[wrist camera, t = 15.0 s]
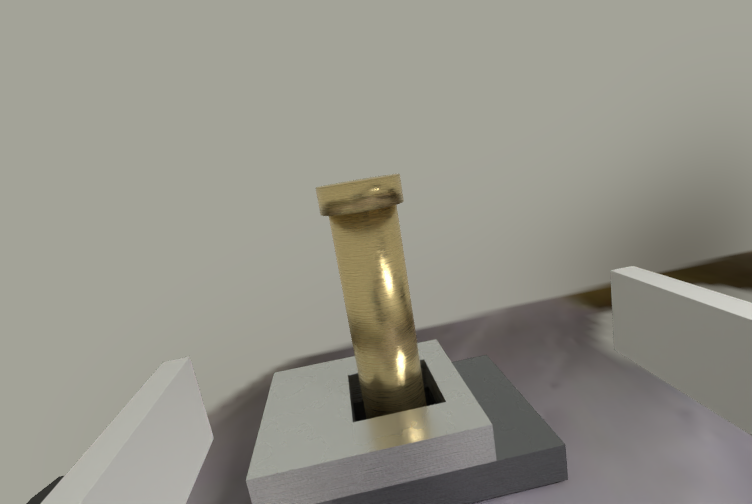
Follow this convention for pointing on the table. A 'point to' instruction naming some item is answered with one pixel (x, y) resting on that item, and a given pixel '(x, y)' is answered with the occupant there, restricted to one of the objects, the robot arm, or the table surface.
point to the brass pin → (376, 291)
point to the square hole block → (401, 438)
